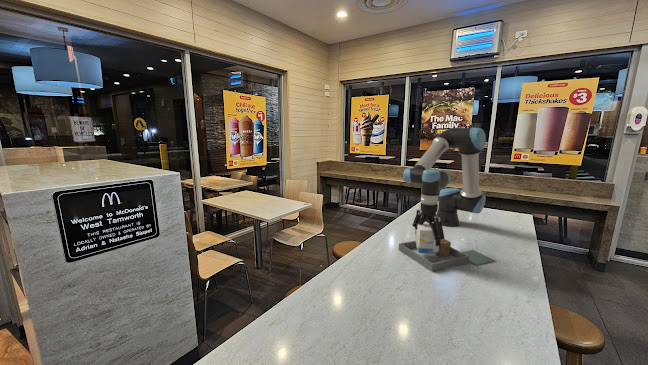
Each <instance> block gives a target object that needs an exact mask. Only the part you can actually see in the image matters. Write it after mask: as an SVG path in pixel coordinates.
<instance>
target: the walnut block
mask: <svg viewBox="0 0 648 365" xmlns="http://www.w3.org/2000/svg"><path fill="white" fill-rule="evenodd" d="M451 246H452V242H451V241H449V240H448V239H445V238H444V239H441V240H440V246H439V251H438V252H437V254H434V255H435V256H436V257H438V258H444V257H447V256H450V247H451Z"/></svg>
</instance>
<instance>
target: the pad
mask: <svg viewBox="0 0 648 365" xmlns="http://www.w3.org/2000/svg"><path fill="white" fill-rule="evenodd" d="M461 252H462V253H464V254H466V255H468V256H469V262H468V263H470V264H472V265H474V266H476V267H477V266H480V265H485V264H489V263H494V262H496V259H493V258H492V257H489V256H487V255H485V254H482V253H480V252H478V251H477V250H475V249H471V250H465V251H461Z"/></svg>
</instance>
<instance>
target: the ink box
mask: <svg viewBox="0 0 648 365" xmlns="http://www.w3.org/2000/svg"><path fill="white" fill-rule="evenodd" d="M437 237H438V236H437ZM434 239H435V236H434V234H433V231H432V228H431V226H430V225H429V223H426V224H425V223H424V224H421V225H419V224H418V227H417V242H416V246H417V247H416V249H417V251H418V253H419V254H427V255H435V254H437V252H433V242H434Z"/></svg>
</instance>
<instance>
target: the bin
mask: <svg viewBox="0 0 648 365" xmlns="http://www.w3.org/2000/svg"><path fill="white" fill-rule="evenodd" d="M414 248H416V249H417V246H416V242H415V240H412V241H406V242H400V243H398V251H400V252H401V253H402V254H404V255H405V256H407V257H408V258H410V259H412V260H413V261H415V262H416V263H418V264H419V265H421V266H423V267H424V268H425V269H426V270H428V271H430V272H432V273H433V272H437V271H441V270H445V269H450V268H453V267H458V266H461V265H467V264H469V263H470V262H469V256H468V255H466V254H464V253H462V252H463V251H459V250H458V249H455V248H454V247H451V246H450V255H451V256H453V257H454V258H451V259H445V260H441V261H436V262H431V261H430V260H429V259H427V258H424V257H423V256H422V255H420V254H418V253H417V252H415V251H414V250H412V249H414ZM450 255H449V256H450Z"/></svg>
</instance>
